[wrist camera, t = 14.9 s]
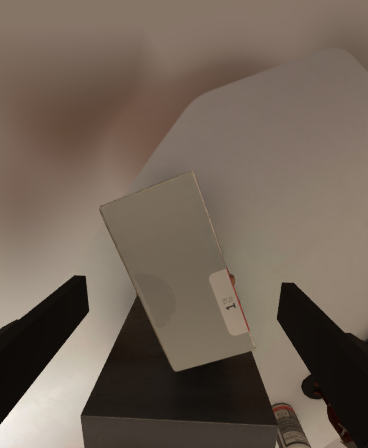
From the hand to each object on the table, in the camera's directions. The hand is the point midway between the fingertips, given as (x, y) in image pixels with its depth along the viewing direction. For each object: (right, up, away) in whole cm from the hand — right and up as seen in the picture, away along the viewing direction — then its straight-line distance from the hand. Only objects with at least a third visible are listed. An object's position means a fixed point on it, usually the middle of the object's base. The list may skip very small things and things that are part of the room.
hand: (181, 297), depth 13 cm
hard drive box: (+1, +4, +21) cm, 22 cm away
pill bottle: (+22, -37, +30) cm, 52 cm away
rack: (0, -15, +25) cm, 29 cm away
